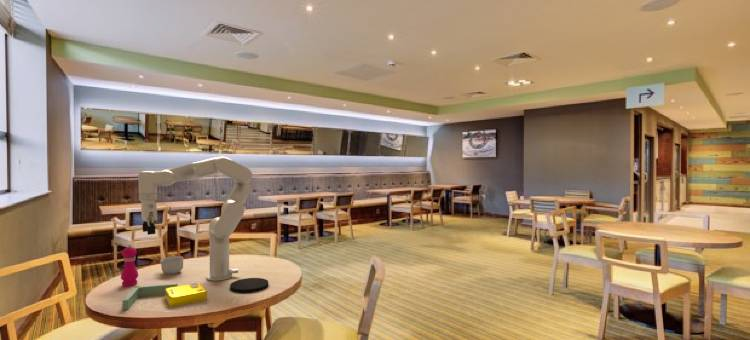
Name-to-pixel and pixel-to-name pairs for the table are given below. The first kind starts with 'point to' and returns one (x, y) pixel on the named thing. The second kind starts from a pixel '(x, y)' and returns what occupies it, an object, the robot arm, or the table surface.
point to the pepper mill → (129, 267)
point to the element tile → (185, 294)
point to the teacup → (172, 264)
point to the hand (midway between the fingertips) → (149, 232)
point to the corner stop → (144, 293)
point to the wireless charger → (249, 285)
